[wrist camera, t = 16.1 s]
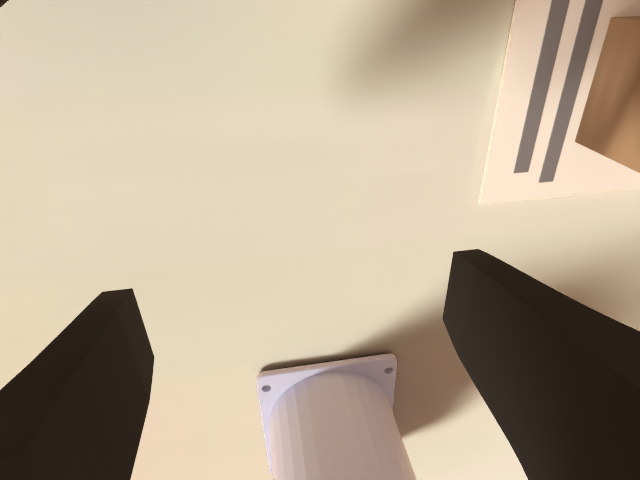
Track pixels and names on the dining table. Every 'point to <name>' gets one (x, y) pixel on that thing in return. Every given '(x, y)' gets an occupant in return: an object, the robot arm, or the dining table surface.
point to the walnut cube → (615, 96)
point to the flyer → (551, 104)
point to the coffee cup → (2, 2)
